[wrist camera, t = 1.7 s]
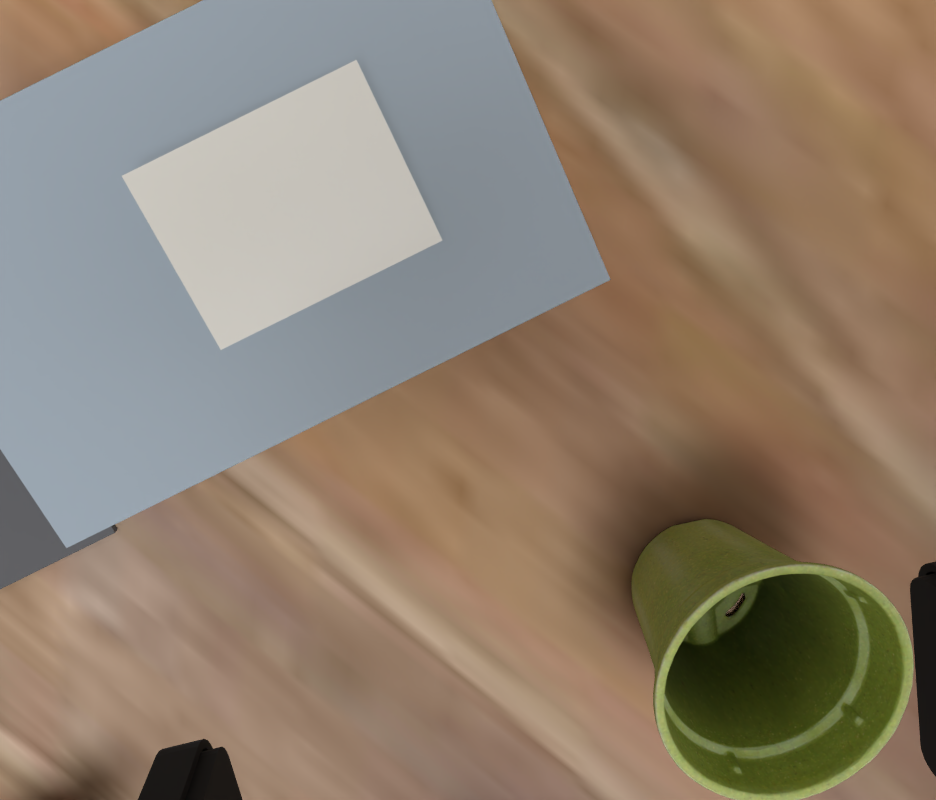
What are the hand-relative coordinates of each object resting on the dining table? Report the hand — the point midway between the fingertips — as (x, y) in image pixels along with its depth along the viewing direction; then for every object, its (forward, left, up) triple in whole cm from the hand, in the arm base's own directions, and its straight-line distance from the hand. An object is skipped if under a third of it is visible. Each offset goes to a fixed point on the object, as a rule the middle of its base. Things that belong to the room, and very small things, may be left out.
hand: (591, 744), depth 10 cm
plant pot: (-6, +13, -24) cm, 28 cm away
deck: (+4, -9, -23) cm, 25 cm away
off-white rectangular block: (+2, -9, -19) cm, 21 cm away
